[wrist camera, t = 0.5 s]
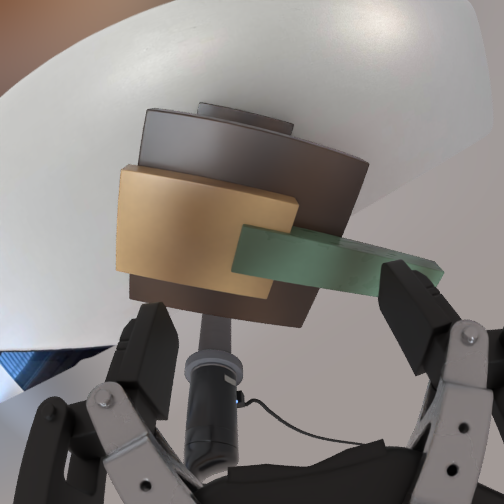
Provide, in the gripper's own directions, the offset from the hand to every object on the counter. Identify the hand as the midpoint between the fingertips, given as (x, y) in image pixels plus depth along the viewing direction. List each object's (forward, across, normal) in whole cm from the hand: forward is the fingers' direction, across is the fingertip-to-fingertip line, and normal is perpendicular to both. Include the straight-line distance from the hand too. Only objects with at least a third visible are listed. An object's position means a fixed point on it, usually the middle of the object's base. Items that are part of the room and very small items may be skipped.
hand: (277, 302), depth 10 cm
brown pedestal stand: (+31, -2, 0) cm, 31 cm away
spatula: (+7, +2, -2) cm, 7 cm away
